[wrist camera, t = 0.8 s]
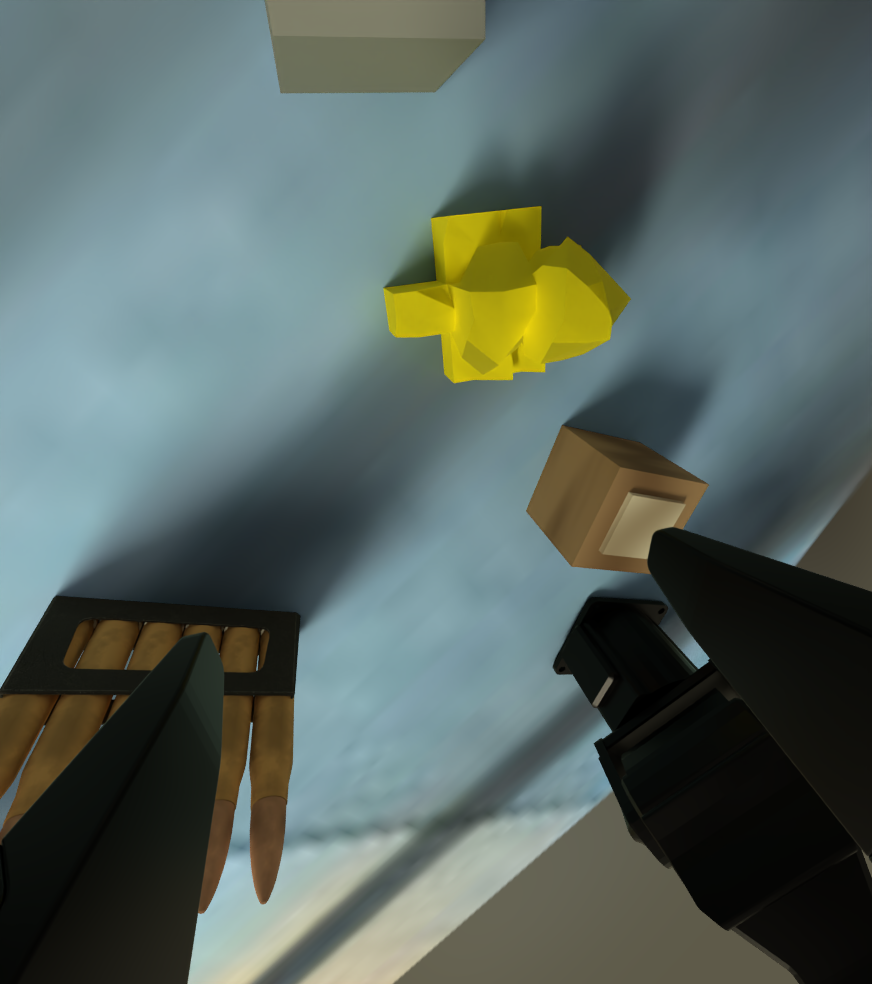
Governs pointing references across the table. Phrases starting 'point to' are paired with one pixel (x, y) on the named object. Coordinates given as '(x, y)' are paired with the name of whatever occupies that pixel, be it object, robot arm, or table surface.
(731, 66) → the table surface
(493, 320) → the crumpled paper
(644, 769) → the robot arm
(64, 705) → the ammunition clip
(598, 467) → the walnut tagged block
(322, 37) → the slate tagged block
